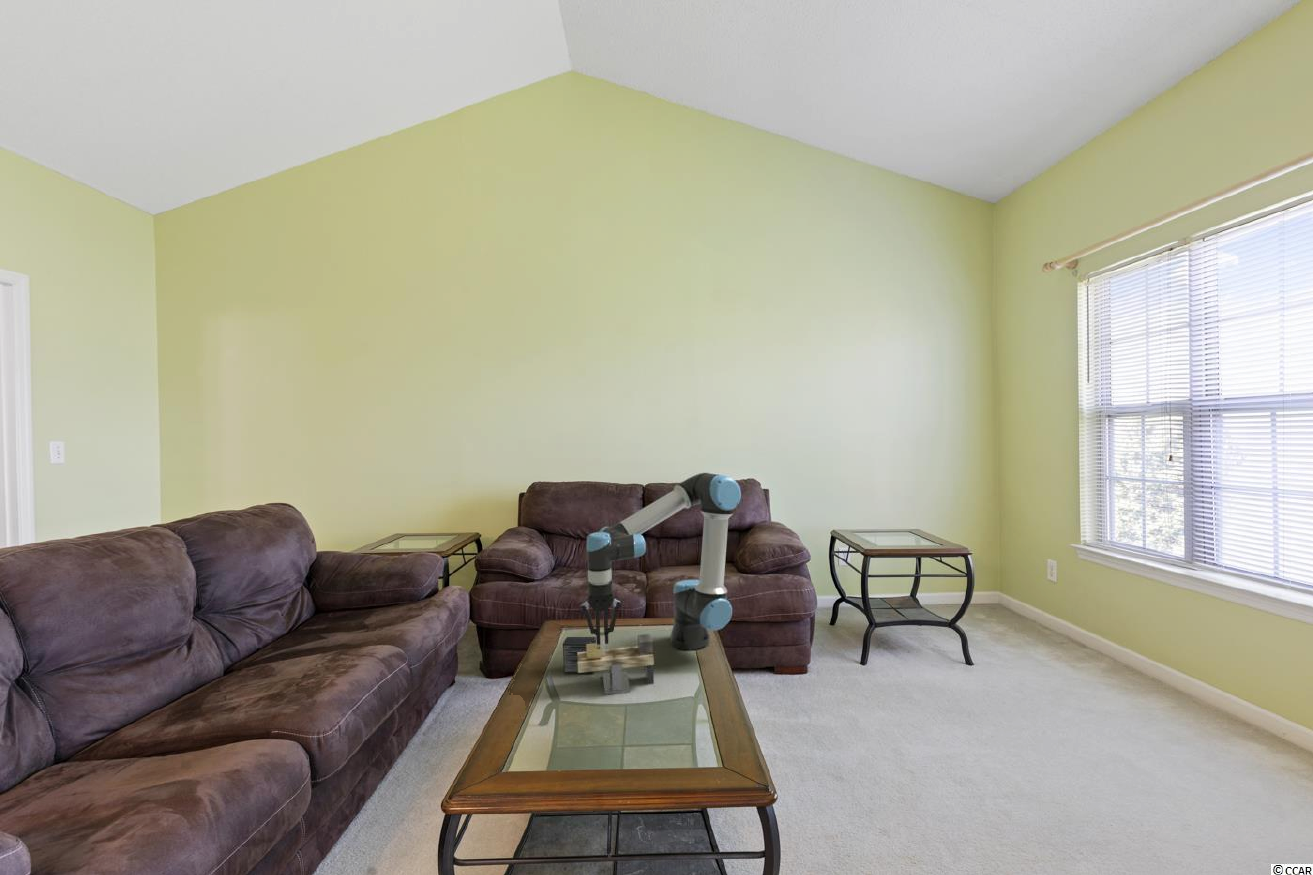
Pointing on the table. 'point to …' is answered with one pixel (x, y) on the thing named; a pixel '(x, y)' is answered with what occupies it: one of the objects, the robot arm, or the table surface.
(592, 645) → the block
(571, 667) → the small box
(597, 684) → the table surface
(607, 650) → the beam
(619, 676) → the fulcrum
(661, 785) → the table surface
